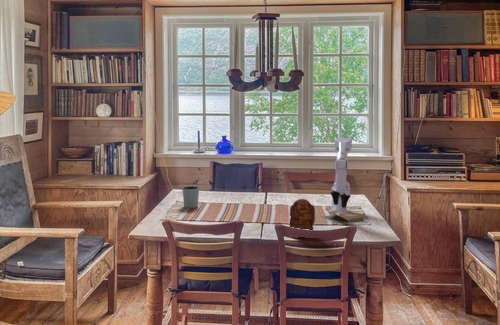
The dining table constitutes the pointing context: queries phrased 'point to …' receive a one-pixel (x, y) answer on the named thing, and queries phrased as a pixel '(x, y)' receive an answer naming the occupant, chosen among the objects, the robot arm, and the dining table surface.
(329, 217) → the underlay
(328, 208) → the plank
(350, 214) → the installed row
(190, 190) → the green plant pot
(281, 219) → the dining table surface
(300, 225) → the wooden figurine
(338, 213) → the plank
